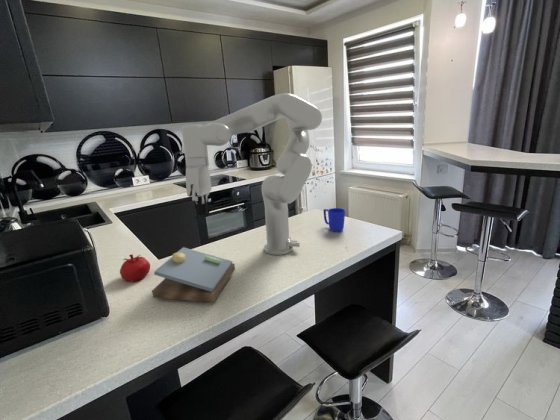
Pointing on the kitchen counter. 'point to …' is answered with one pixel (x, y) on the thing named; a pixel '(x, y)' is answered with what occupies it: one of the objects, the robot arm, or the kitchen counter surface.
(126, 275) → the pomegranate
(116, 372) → the kitchen counter surface
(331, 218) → the mug
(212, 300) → the wooden board
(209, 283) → the plate
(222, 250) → the kitchen counter surface
